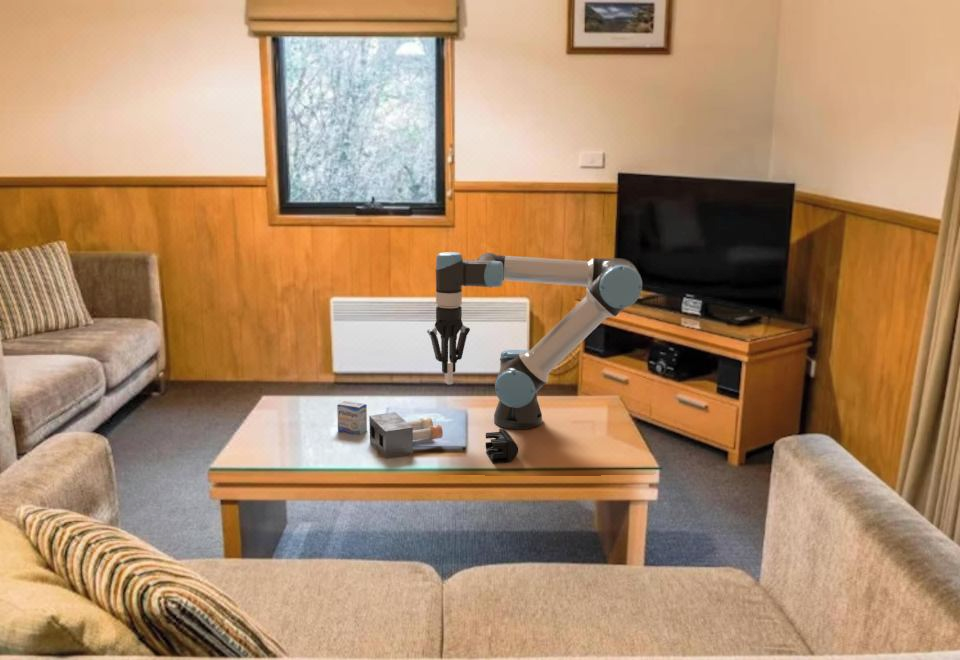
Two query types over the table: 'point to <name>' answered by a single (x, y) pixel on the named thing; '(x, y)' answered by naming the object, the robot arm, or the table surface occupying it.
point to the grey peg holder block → (391, 435)
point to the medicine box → (352, 417)
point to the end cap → (501, 447)
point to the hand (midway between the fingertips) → (448, 383)
